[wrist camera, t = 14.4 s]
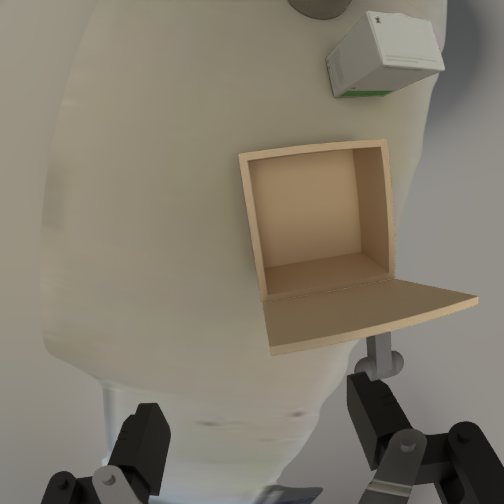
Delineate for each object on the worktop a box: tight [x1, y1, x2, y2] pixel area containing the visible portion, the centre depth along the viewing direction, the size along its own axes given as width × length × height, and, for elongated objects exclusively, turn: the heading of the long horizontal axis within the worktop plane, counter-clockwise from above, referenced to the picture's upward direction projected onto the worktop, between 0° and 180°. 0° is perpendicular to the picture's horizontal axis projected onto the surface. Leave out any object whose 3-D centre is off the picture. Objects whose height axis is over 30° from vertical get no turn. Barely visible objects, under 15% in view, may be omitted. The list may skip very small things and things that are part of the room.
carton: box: [238, 139, 395, 303], centre depth 37 cm, size 16×16×10 cm
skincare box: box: [326, 11, 445, 97], centre depth 29 cm, size 8×7×16 cm
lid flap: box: [263, 279, 479, 381], centre depth 26 cm, size 16×16×5 cm
